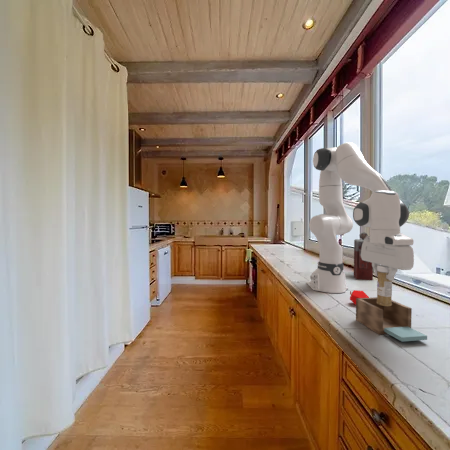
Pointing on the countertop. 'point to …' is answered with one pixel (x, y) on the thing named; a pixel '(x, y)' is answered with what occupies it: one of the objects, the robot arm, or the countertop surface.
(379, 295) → the sprinkles bottle
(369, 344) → the countertop surface
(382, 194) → the robot arm
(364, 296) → the apple
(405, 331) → the panel
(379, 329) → the crate
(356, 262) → the toy vending machine
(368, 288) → the countertop surface
